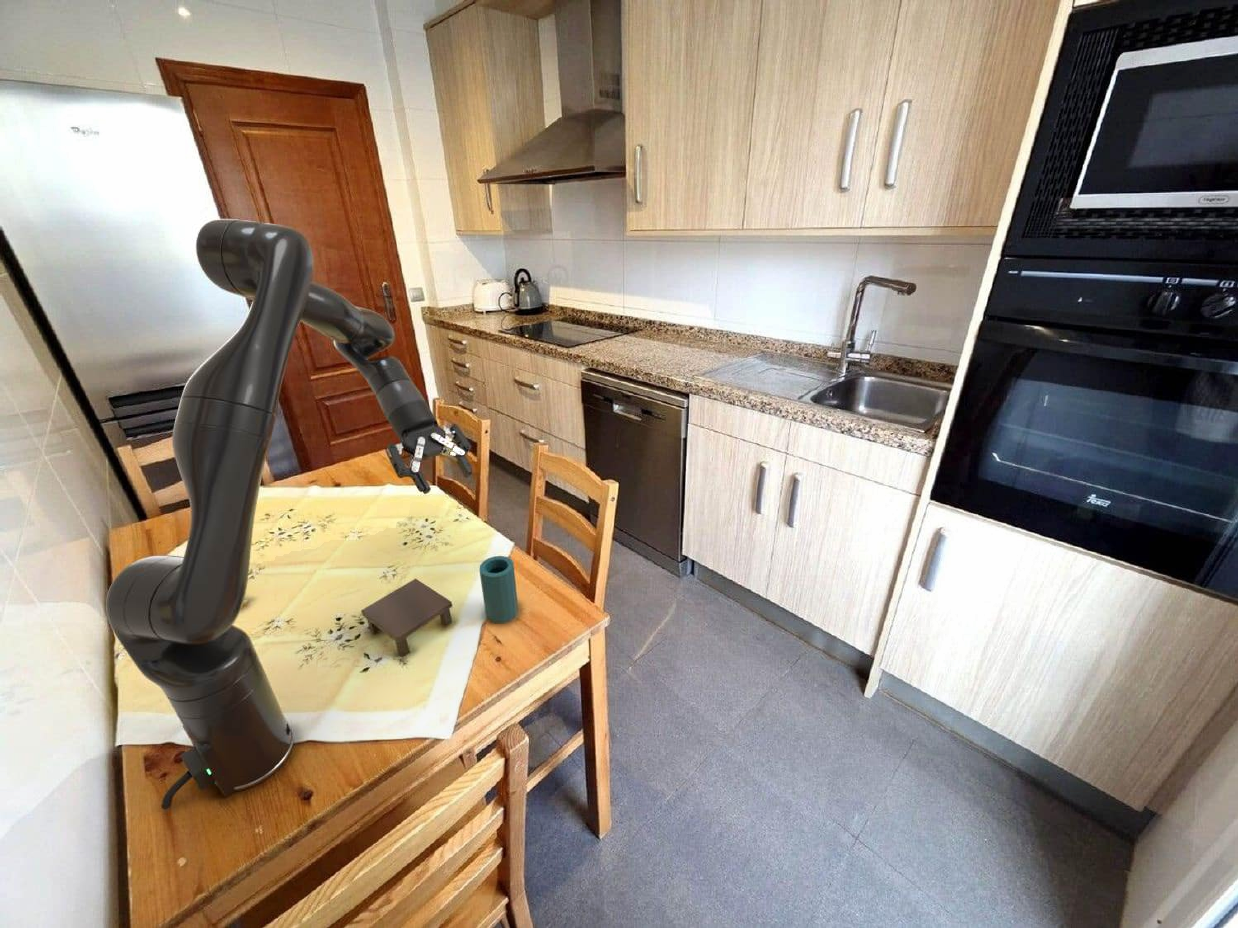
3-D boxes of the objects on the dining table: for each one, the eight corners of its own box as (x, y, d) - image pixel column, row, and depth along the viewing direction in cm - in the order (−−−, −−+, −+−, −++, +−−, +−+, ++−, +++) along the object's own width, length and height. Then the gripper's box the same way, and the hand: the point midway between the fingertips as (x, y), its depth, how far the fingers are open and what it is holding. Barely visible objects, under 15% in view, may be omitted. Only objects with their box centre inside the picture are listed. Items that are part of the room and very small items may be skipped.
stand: (402, 660, 85) (396, 638, 83) (366, 631, 91) (360, 610, 89) (455, 622, 93) (451, 601, 91) (419, 598, 99) (415, 578, 97)
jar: (501, 628, 92) (495, 581, 87) (479, 614, 95) (472, 568, 90) (524, 609, 96) (520, 563, 91) (503, 597, 100) (497, 551, 95)
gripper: (372, 410, 86) (418, 490, 85) (446, 390, 96) (488, 462, 94) (365, 430, 92) (408, 505, 90) (435, 410, 101) (475, 478, 100)
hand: (449, 483), depth 92 cm, fingers open, 8 cm apart
